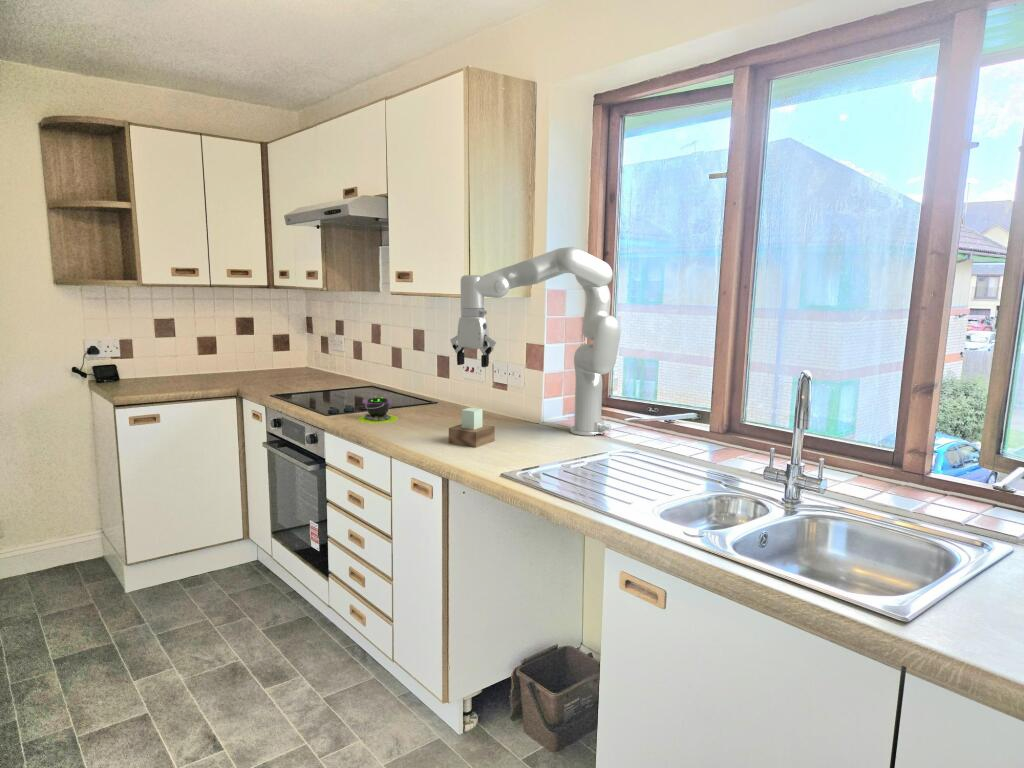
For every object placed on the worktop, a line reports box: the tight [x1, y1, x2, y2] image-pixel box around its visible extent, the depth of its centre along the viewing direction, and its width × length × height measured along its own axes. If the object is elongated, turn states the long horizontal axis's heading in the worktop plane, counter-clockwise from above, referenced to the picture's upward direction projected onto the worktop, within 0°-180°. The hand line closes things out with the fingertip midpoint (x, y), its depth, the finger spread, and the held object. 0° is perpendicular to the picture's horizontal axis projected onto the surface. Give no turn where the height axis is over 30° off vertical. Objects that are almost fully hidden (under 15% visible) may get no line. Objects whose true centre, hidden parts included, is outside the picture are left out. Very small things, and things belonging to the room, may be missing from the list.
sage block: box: [461, 407, 483, 429], centre depth 222 cm, size 5×5×6 cm
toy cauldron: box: [357, 390, 399, 424], centre depth 256 cm, size 15×15×11 cm
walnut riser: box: [448, 423, 496, 448], centre depth 223 cm, size 11×11×5 cm
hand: (472, 365), depth 219 cm, fingers open, 9 cm apart
